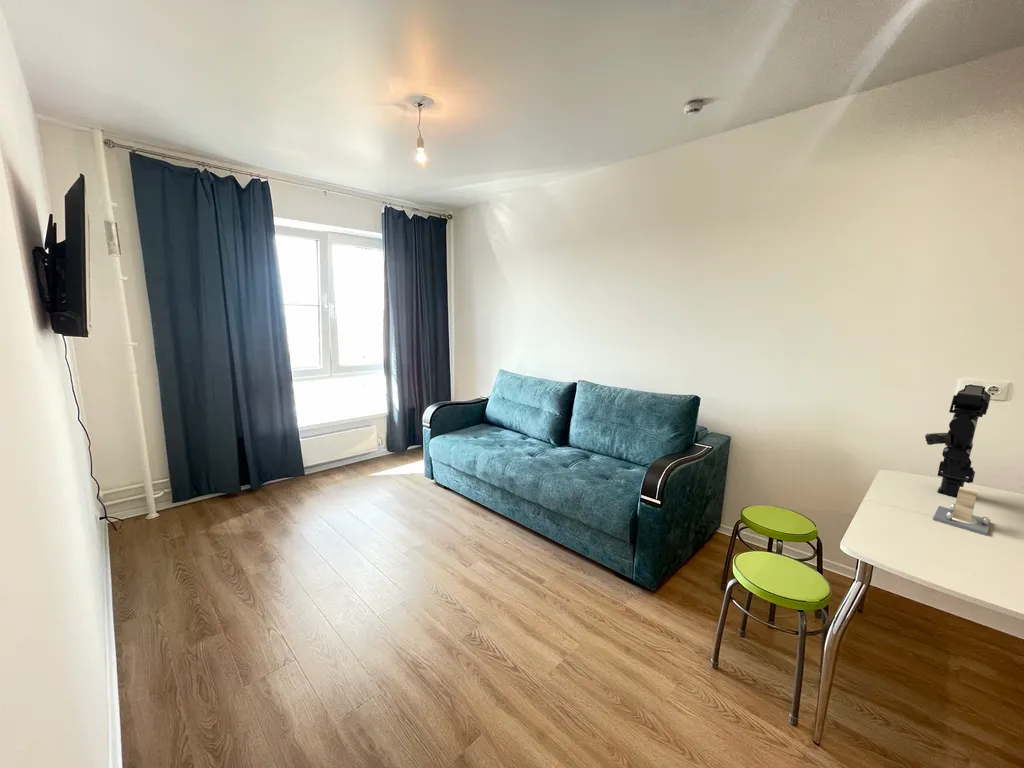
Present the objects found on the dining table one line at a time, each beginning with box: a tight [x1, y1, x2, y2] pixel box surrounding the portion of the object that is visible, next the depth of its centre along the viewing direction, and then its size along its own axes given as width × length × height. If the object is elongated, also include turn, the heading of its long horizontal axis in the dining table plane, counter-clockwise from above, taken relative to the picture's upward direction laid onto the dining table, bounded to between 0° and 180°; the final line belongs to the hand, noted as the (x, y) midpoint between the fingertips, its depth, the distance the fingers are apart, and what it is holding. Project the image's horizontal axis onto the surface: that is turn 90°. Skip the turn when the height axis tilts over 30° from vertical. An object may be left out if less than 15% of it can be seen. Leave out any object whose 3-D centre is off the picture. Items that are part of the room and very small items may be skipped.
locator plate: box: [932, 503, 991, 536], centre depth 136 cm, size 12×12×4 cm
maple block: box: [952, 486, 979, 523], centre depth 135 cm, size 4×4×10 cm
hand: (952, 471), depth 144 cm, fingers open, 9 cm apart
